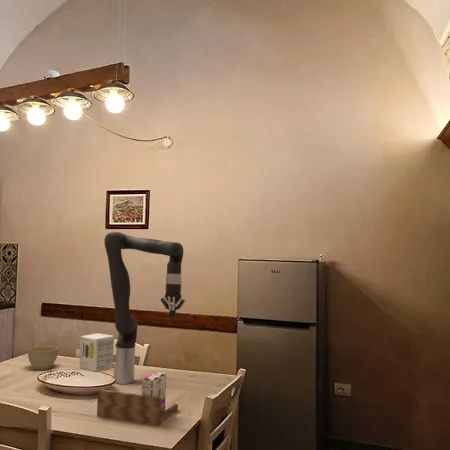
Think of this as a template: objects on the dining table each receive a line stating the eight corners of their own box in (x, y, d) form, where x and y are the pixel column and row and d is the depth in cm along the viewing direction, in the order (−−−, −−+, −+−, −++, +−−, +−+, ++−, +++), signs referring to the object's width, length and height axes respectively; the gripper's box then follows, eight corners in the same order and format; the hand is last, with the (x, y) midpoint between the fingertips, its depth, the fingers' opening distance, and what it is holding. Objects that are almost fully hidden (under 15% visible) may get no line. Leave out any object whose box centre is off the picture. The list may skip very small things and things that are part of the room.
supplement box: (78, 368, 257) (79, 336, 258) (96, 363, 268) (97, 332, 269) (95, 372, 250) (96, 339, 251) (113, 367, 261) (114, 335, 262)
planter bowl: (51, 372, 247) (52, 351, 248) (21, 371, 247) (22, 350, 248) (62, 364, 263) (63, 345, 264) (34, 363, 263) (34, 344, 264)
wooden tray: (96, 415, 185) (98, 390, 186) (120, 402, 202) (121, 378, 203) (158, 425, 177) (159, 398, 178) (177, 410, 194) (178, 385, 195)
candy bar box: (154, 411, 192) (156, 371, 193) (165, 413, 190) (166, 372, 191) (140, 420, 181) (141, 377, 182) (151, 422, 179) (152, 379, 180)
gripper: (158, 282, 229) (156, 318, 228) (183, 283, 225) (181, 320, 224) (164, 281, 236) (163, 316, 235) (188, 282, 232) (187, 318, 231)
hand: (172, 318), depth 230 cm, fingers closed
